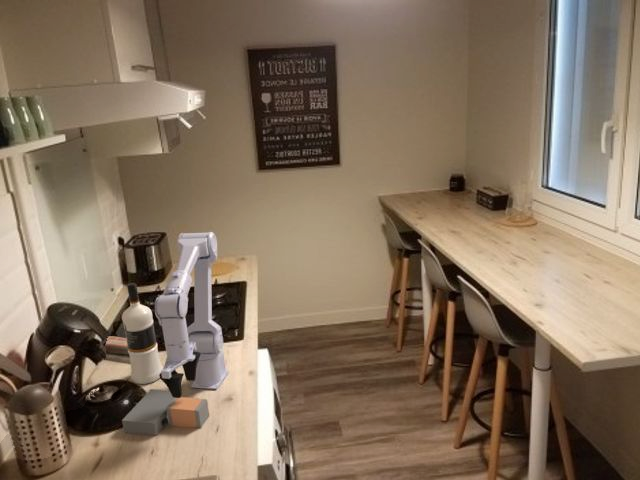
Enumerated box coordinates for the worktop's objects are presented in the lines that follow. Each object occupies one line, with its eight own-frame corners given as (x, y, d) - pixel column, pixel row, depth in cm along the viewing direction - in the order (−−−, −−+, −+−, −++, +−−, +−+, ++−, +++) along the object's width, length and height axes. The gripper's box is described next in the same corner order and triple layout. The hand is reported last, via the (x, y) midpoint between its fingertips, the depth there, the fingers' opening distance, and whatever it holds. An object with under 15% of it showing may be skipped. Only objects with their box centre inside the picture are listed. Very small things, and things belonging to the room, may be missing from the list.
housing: (168, 424, 134) (165, 408, 133) (178, 413, 139) (175, 396, 137) (201, 427, 132) (198, 410, 131) (209, 415, 137) (207, 399, 135)
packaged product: (90, 345, 170) (111, 331, 179) (93, 358, 172) (114, 344, 181) (135, 351, 164) (155, 337, 173) (137, 365, 165) (157, 350, 174)
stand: (153, 400, 145) (151, 389, 144) (182, 402, 143) (180, 391, 142) (124, 432, 132) (121, 420, 131) (156, 435, 130) (154, 423, 129)
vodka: (165, 380, 155) (149, 286, 146) (132, 388, 152) (114, 292, 143) (162, 366, 163) (147, 276, 154) (131, 373, 160) (114, 282, 151)
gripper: (177, 355, 121) (185, 406, 125) (204, 327, 135) (210, 374, 139) (150, 354, 123) (158, 404, 127) (179, 326, 136) (186, 372, 140)
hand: (184, 388), depth 133 cm, fingers open, 7 cm apart
